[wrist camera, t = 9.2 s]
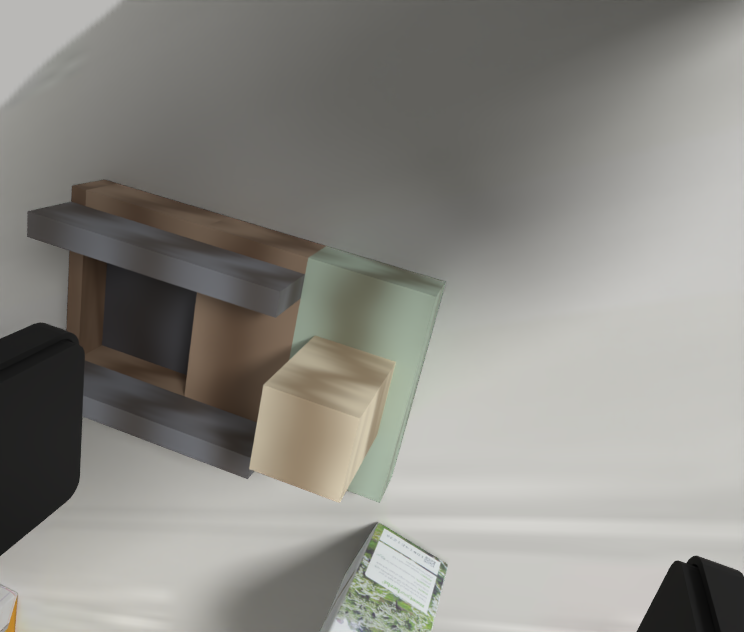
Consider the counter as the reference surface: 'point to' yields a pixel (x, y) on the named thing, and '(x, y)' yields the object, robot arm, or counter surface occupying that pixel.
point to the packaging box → (7, 609)
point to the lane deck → (222, 321)
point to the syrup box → (388, 588)
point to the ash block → (321, 416)
